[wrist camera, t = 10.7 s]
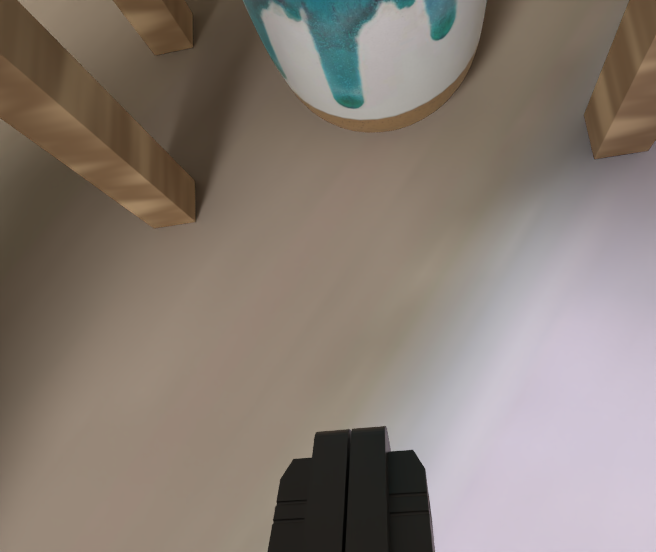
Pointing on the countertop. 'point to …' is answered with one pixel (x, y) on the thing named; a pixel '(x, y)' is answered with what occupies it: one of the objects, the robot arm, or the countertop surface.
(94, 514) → the countertop surface
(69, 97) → the riser shelf
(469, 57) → the vase
